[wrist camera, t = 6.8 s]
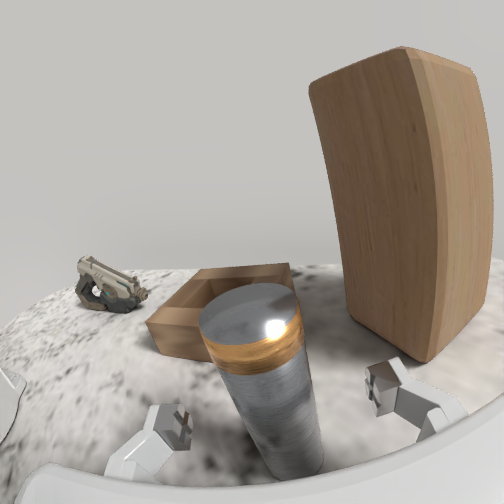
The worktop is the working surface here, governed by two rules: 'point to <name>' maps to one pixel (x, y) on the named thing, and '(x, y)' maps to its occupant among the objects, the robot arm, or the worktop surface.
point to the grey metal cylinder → (267, 373)
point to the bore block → (194, 301)
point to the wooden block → (409, 193)
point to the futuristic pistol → (107, 287)
